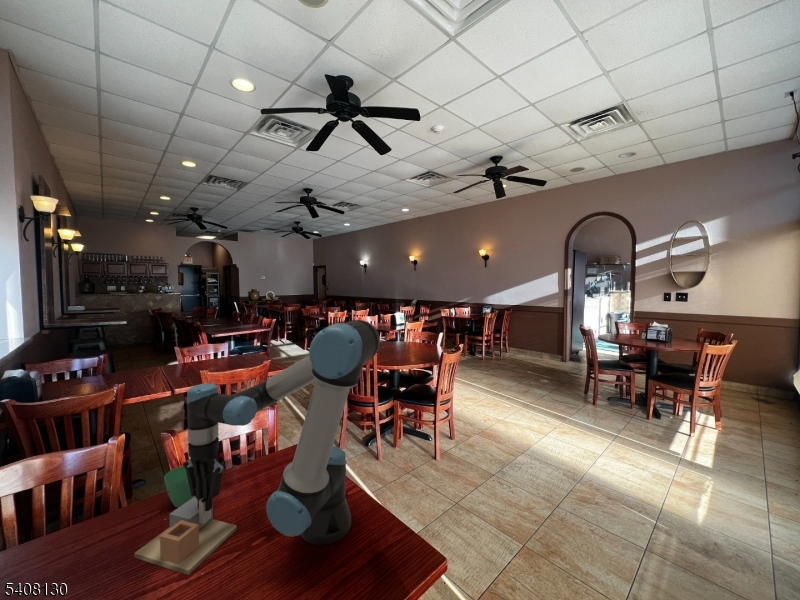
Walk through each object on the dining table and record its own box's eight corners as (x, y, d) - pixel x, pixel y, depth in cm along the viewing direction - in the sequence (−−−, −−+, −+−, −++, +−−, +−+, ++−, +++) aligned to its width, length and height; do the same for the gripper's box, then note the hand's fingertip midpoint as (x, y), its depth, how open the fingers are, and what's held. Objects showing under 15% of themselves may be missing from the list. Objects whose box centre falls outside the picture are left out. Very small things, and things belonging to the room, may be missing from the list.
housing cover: (212, 518, 99) (212, 501, 99) (189, 537, 91) (189, 519, 91) (194, 513, 101) (194, 496, 101) (169, 532, 93) (169, 514, 93)
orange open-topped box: (198, 546, 89) (198, 524, 89) (178, 564, 83) (178, 541, 83) (181, 541, 91) (181, 520, 90) (160, 558, 85) (160, 535, 85)
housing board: (236, 529, 97) (236, 509, 97) (188, 575, 81) (188, 551, 81) (188, 516, 102) (188, 497, 101) (134, 557, 86) (134, 535, 86)
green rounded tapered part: (184, 514, 103) (184, 483, 102) (156, 511, 104) (156, 480, 104) (216, 486, 117) (216, 458, 117) (191, 483, 119) (191, 456, 118)
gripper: (232, 436, 96) (233, 515, 97) (196, 431, 99) (198, 507, 100) (211, 448, 89) (212, 534, 89) (173, 442, 92) (175, 524, 93)
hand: (205, 520), depth 95 cm, fingers closed
